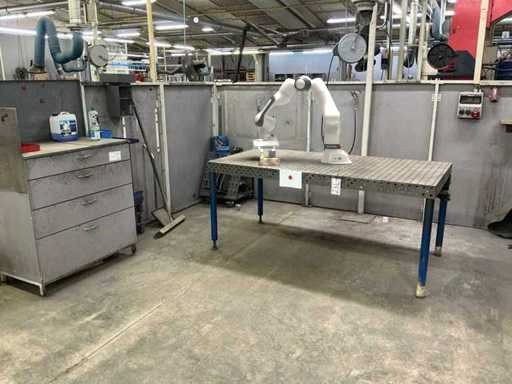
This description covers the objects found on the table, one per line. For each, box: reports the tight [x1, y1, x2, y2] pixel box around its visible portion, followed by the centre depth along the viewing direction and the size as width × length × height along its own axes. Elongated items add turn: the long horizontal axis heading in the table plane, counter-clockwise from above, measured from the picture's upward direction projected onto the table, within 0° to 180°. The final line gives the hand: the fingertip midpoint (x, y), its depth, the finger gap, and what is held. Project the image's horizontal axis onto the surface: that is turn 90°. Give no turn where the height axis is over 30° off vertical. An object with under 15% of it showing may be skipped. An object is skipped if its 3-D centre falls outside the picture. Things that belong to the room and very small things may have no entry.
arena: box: [259, 155, 281, 167], centre depth 289 cm, size 14×14×5 cm
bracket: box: [267, 149, 277, 158], centre depth 290 cm, size 5×8×9 cm, turn 13°
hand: (267, 152), depth 302 cm, fingers open, 8 cm apart
